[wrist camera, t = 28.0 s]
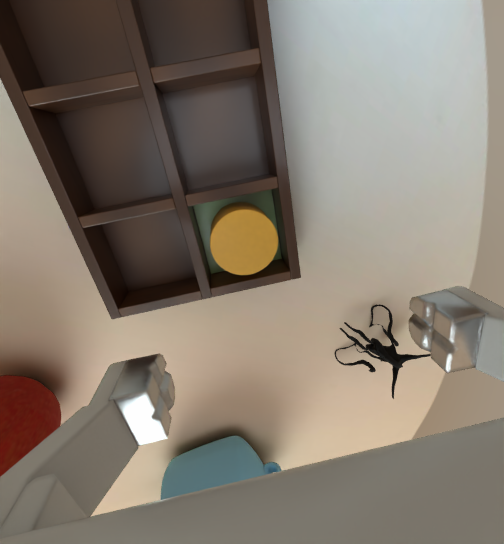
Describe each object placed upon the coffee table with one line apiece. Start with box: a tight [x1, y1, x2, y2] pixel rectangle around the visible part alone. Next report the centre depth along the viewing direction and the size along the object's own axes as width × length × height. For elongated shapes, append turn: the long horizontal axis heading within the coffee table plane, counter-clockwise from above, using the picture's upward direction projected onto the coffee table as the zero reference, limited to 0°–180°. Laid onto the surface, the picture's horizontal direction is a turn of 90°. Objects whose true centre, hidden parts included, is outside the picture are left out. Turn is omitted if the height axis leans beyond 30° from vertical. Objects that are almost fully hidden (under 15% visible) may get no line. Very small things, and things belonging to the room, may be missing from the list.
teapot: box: [161, 436, 282, 500], centre depth 30 cm, size 12×18×12 cm
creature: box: [335, 305, 431, 399], centre depth 28 cm, size 8×5×8 cm
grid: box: [0, 0, 301, 319], centre depth 19 cm, size 15×23×4 cm
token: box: [210, 202, 278, 275], centre depth 22 cm, size 5×5×3 cm
